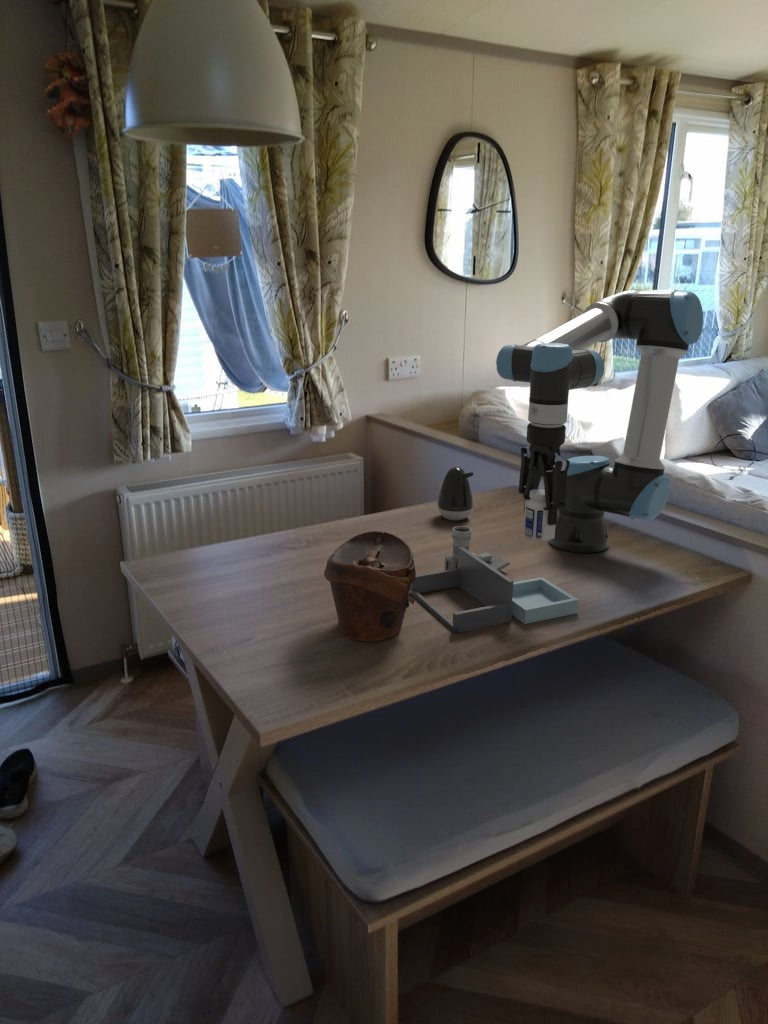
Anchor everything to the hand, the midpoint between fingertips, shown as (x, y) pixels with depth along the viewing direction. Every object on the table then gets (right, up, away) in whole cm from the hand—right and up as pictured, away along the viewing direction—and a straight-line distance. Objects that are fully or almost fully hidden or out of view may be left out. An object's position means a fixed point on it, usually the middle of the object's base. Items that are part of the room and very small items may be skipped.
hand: (538, 533), depth 155 cm
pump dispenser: (-12, +3, +61) cm, 63 cm away
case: (-35, -19, -5) cm, 40 cm away
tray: (0, -16, +5) cm, 16 cm away
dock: (-16, -16, +5) cm, 23 cm away
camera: (-11, -10, +23) cm, 27 cm away
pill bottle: (0, -1, 0) cm, 1 cm away
